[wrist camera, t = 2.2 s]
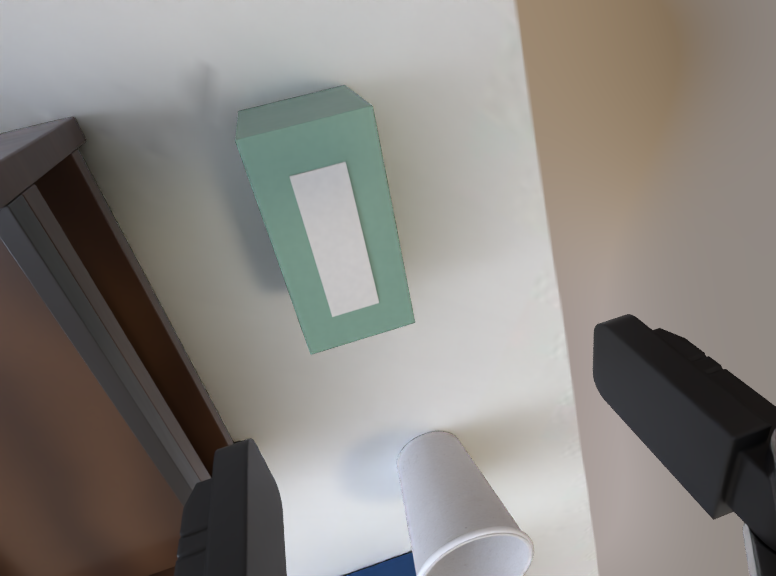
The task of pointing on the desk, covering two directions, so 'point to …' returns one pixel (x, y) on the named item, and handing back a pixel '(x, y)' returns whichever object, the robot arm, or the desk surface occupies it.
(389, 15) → the desk surface
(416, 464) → the dixie cup
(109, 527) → the box
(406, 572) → the protein box
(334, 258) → the tissue box
